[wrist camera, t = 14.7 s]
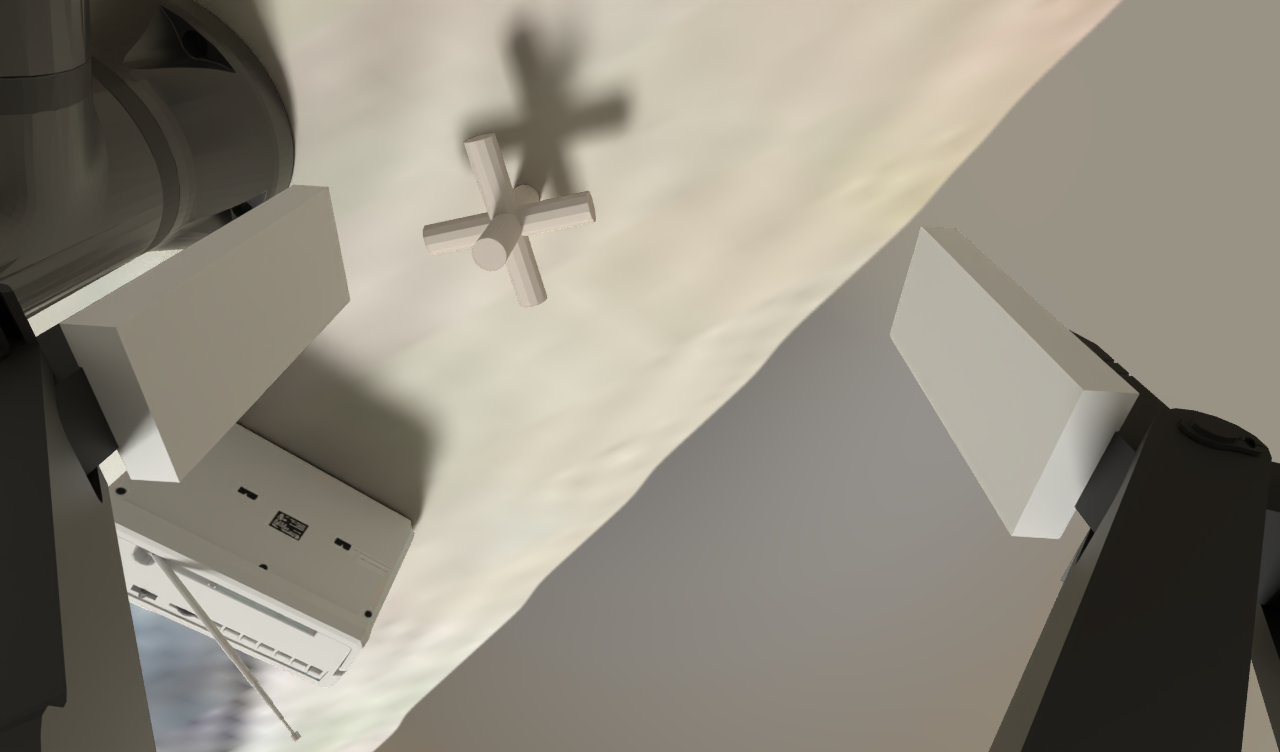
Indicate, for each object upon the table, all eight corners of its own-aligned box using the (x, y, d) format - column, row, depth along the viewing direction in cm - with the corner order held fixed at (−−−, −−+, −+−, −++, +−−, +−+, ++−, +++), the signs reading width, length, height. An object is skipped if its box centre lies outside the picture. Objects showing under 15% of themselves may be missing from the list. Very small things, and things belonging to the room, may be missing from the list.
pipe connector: (479, 282, 46) (435, 352, 38) (425, 137, 41) (360, 180, 33) (617, 255, 45) (604, 321, 36) (579, 101, 40) (553, 136, 31)
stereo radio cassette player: (167, 451, 56) (-56, 662, 39) (201, 389, 52) (-28, 591, 35) (387, 567, 62) (279, 792, 45) (431, 518, 58) (331, 743, 41)
